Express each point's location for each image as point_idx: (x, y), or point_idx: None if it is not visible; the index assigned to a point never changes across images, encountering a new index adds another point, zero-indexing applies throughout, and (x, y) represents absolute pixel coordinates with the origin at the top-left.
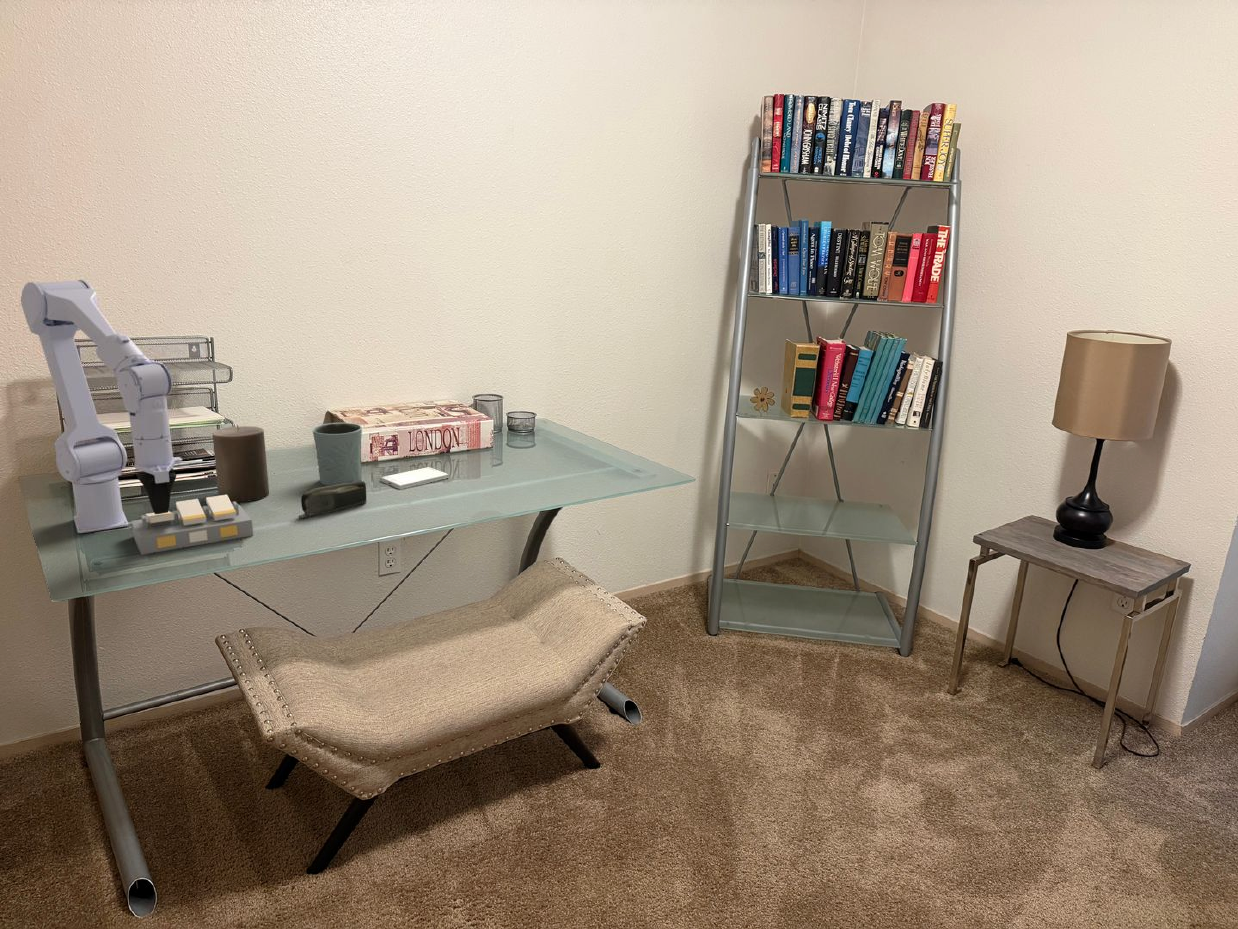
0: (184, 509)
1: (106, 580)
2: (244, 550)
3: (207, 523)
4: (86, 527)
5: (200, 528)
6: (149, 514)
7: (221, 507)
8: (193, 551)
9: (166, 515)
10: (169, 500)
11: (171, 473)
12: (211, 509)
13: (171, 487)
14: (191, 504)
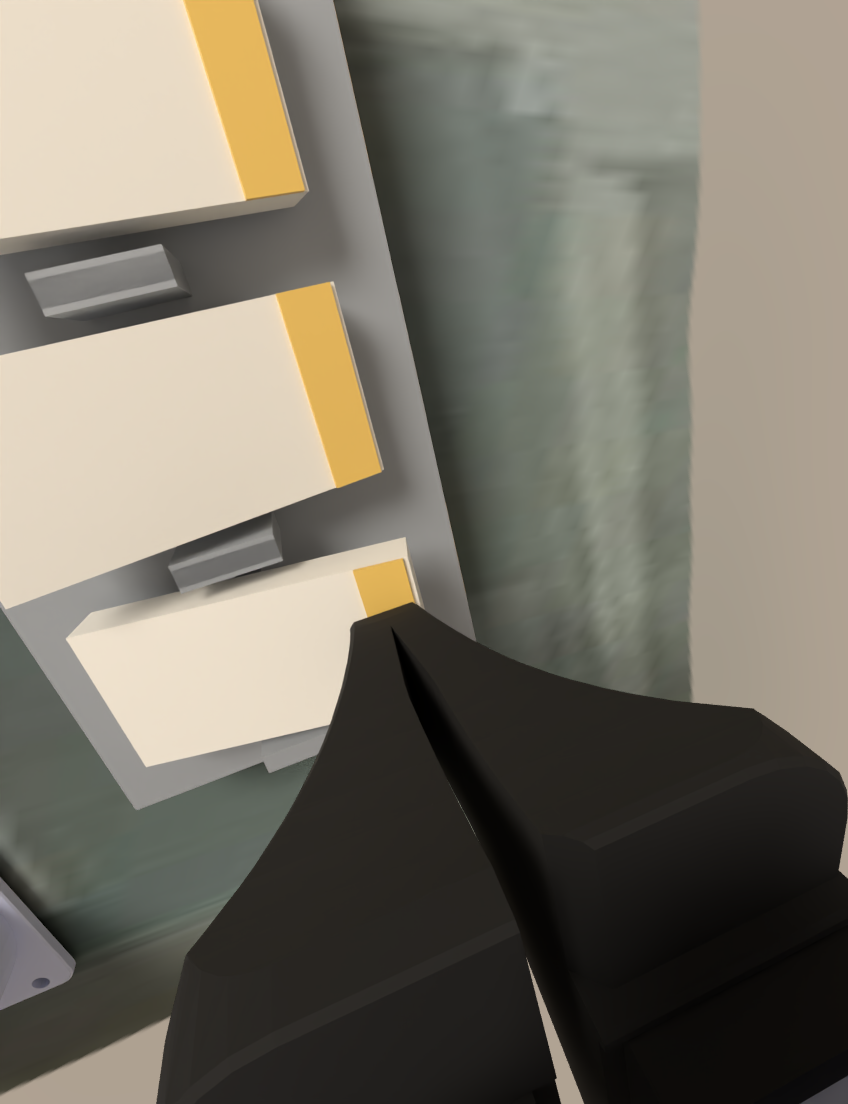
0: (182, 495)
1: (674, 673)
2: (577, 36)
3: (300, 282)
4: (10, 975)
5: (405, 337)
6: (221, 734)
7: (99, 76)
8: (483, 382)
9: (420, 602)
10: (461, 635)
11: (645, 881)
12: (158, 215)
13: (598, 688)
14: (53, 443)
